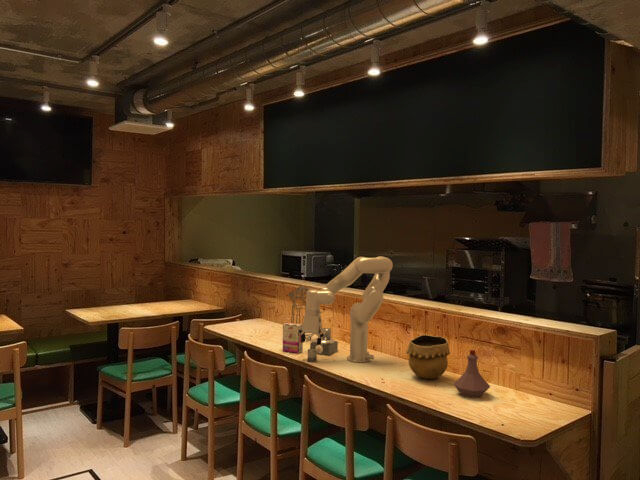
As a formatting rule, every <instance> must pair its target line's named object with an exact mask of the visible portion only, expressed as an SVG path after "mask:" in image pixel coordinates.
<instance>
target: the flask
mask: <svg viewBox="0 0 640 480" xmlns="http://www.w3.org/2000/svg"><path fill="white" fill-rule="evenodd" d="M466 358H467V365H466V369H465V371H464V372H463V374H462V375H461V376H460V377H459V378H458V379H457V380H455V381H454V383H452V384H453V386H454V387H455V389H456V390H457V391H458V392H459V394H460V395H462V396H463V397H465V398H471V399H476V398H477V399H478V398H479V399H480V398H481V397H482V396H483V395H484V394H485V393H486V392H487V391H488V390H489V389H490V388H491V385H490V384H489V383H488V382H487V381H486V380H485V378H484V377H483V376H482V375H481V374H480V372H479V371H480V370H479V368H478V362H477V361H478V359H479V356H478V355H477V354H476V350H475V349H470V350H469V354H468V355H467V356H466Z"/></svg>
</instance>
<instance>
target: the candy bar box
mask: <svg viewBox="0 0 640 480" xmlns="http://www.w3.org/2000/svg"><path fill="white" fill-rule="evenodd" d="M302 324H303V323H302ZM302 324H301V323H300V324H299V323H297V324H296V323H295V322H294V323H293V322H292V323H291V322H285V323H283V324H282V352H283V353H291V354H297V355H298V354H301V353H303V351H304V350H303V343H304V342H303V343H301V335H300V333H299V330H298V328H297V327H298V326H300V325H302ZM301 330H302V327H301Z"/></svg>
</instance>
